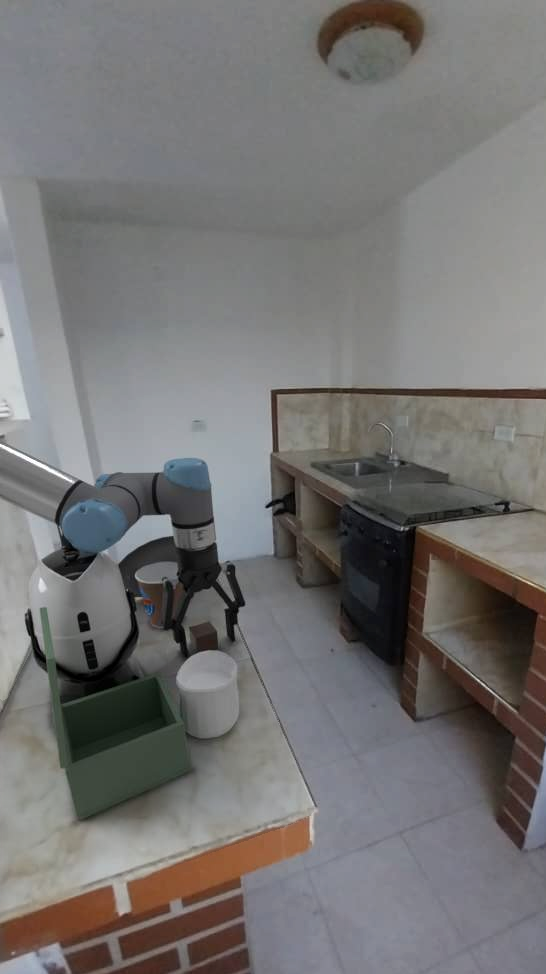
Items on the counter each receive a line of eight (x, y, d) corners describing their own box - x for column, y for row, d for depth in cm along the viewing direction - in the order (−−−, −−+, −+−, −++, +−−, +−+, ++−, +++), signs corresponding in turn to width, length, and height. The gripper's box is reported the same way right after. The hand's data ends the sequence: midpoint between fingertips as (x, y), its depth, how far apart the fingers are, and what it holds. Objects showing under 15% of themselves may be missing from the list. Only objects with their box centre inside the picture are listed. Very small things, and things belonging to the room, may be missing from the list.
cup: (187, 749, 69) (181, 698, 65) (175, 706, 77) (169, 658, 74) (248, 730, 72) (245, 680, 69) (230, 690, 81) (227, 644, 77)
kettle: (47, 667, 87) (6, 506, 75) (134, 643, 94) (109, 493, 82) (51, 759, 67) (-3, 561, 55) (161, 720, 74) (134, 538, 62)
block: (190, 645, 93) (188, 626, 92) (211, 638, 95) (209, 620, 94) (197, 656, 90) (195, 637, 88) (218, 649, 92) (217, 631, 90)
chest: (165, 715, 75) (159, 672, 72) (190, 771, 65) (184, 723, 62) (67, 752, 68) (55, 706, 65) (78, 821, 58) (65, 770, 55)
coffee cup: (138, 614, 104) (131, 566, 99) (184, 604, 108) (179, 557, 104) (146, 637, 95) (138, 586, 91) (195, 625, 100) (190, 576, 95)
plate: (168, 528, 95) (164, 522, 96) (93, 591, 96) (90, 584, 97) (217, 557, 114) (214, 551, 115) (154, 609, 115) (151, 603, 116)
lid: (46, 606, 60) (39, 607, 59) (54, 657, 50) (46, 659, 49) (58, 702, 65) (52, 704, 65) (68, 766, 55) (60, 769, 55)
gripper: (139, 565, 76) (159, 675, 84) (258, 537, 86) (265, 638, 95) (129, 550, 82) (149, 654, 90) (242, 525, 92) (249, 621, 101)
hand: (208, 646), depth 93 cm, fingers open, 9 cm apart
